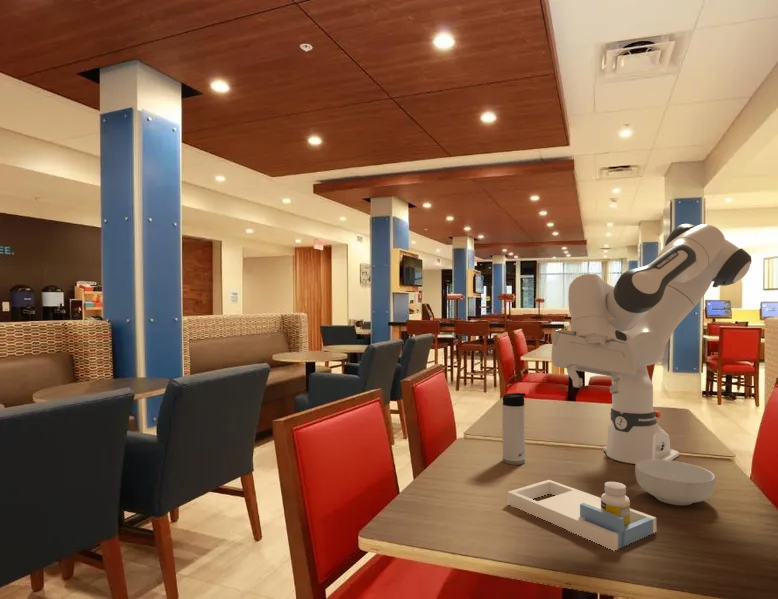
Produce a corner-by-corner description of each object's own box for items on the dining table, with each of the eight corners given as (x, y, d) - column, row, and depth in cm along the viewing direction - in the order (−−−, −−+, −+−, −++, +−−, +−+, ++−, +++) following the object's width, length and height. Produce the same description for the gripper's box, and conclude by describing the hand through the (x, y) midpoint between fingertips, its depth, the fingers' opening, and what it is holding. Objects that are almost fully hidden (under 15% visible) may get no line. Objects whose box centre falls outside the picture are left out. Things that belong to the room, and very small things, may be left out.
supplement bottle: (595, 530, 108) (594, 482, 108) (614, 525, 110) (614, 478, 110) (616, 541, 103) (615, 491, 103) (636, 536, 105) (636, 487, 105)
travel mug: (526, 465, 149) (526, 395, 149) (502, 464, 150) (502, 394, 150) (525, 459, 155) (525, 391, 155) (502, 457, 157) (502, 390, 157)
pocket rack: (549, 491, 129) (549, 469, 129) (656, 532, 106) (656, 505, 106) (507, 504, 121) (507, 480, 121) (614, 551, 98) (613, 522, 98)
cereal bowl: (715, 519, 113) (715, 486, 113) (630, 504, 121) (630, 473, 121) (715, 494, 127) (715, 465, 127) (639, 482, 136) (639, 454, 136)
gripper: (557, 321, 122) (562, 377, 115) (636, 337, 126) (644, 392, 119) (544, 332, 128) (548, 386, 121) (620, 347, 131) (627, 400, 124)
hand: (596, 389), depth 120 cm, fingers open, 8 cm apart
